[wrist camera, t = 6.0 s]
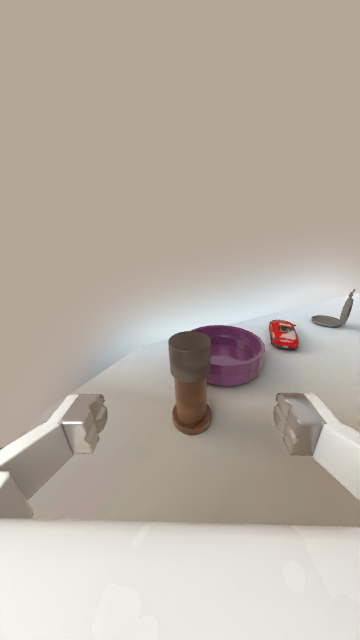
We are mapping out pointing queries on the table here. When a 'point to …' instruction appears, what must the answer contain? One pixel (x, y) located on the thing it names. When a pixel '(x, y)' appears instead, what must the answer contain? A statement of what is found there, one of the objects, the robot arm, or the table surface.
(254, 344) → the bowl
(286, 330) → the race car
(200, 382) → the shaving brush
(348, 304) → the pocket watch
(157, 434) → the table surface
